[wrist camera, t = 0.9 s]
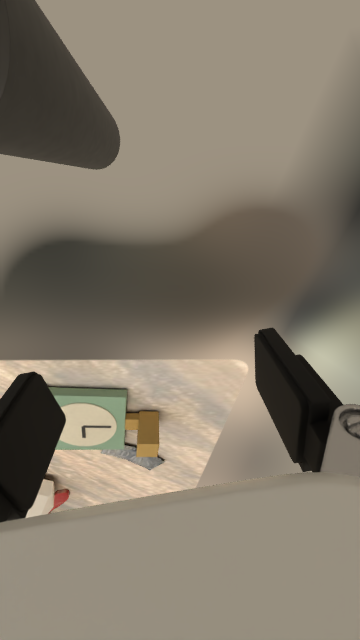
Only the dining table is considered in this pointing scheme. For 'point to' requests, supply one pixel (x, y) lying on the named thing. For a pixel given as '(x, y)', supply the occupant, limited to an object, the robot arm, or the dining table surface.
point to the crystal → (43, 500)
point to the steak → (60, 497)
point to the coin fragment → (134, 457)
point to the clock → (104, 421)
